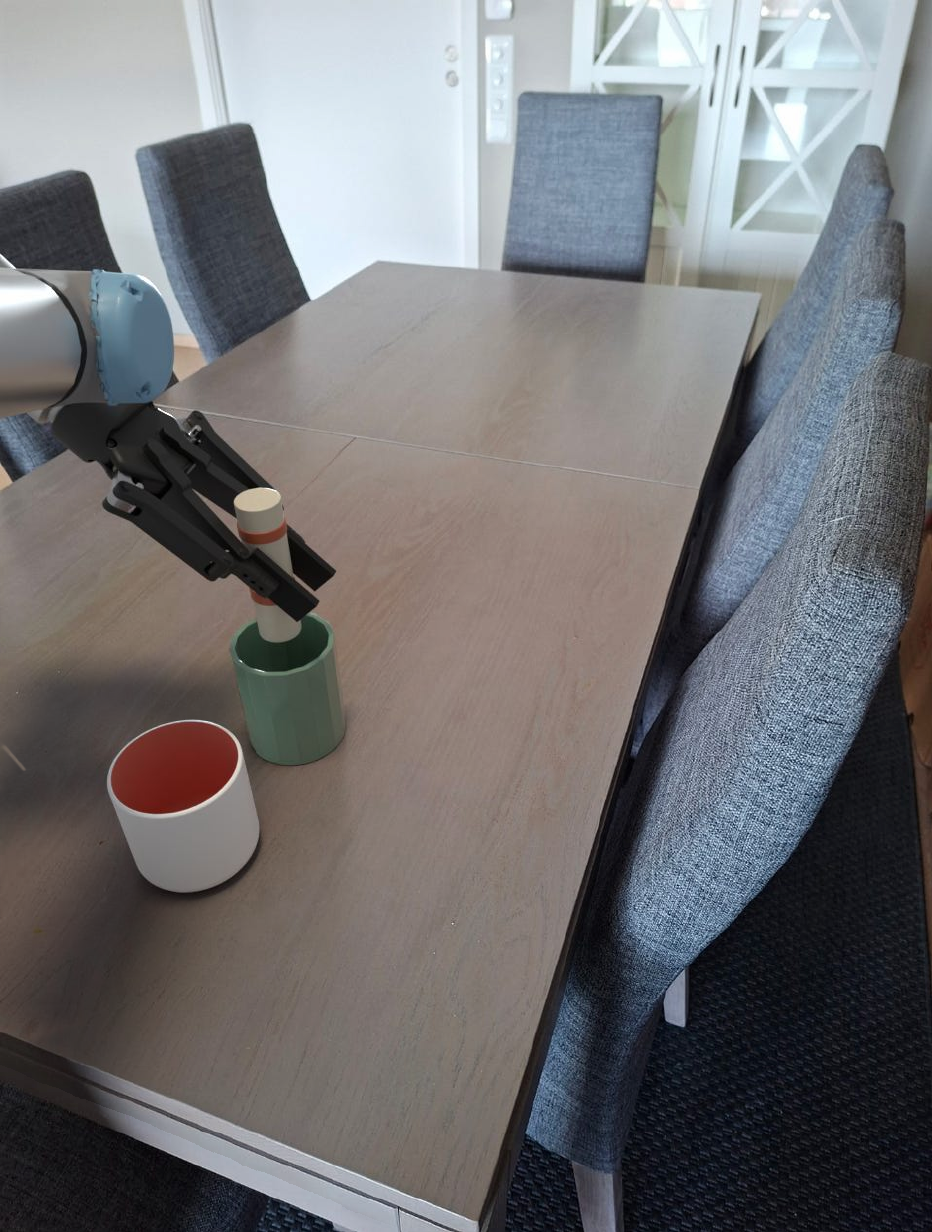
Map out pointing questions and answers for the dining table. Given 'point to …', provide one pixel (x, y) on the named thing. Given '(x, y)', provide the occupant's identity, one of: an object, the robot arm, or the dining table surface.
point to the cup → (185, 804)
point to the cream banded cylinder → (267, 532)
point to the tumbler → (290, 691)
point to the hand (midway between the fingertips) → (316, 595)
